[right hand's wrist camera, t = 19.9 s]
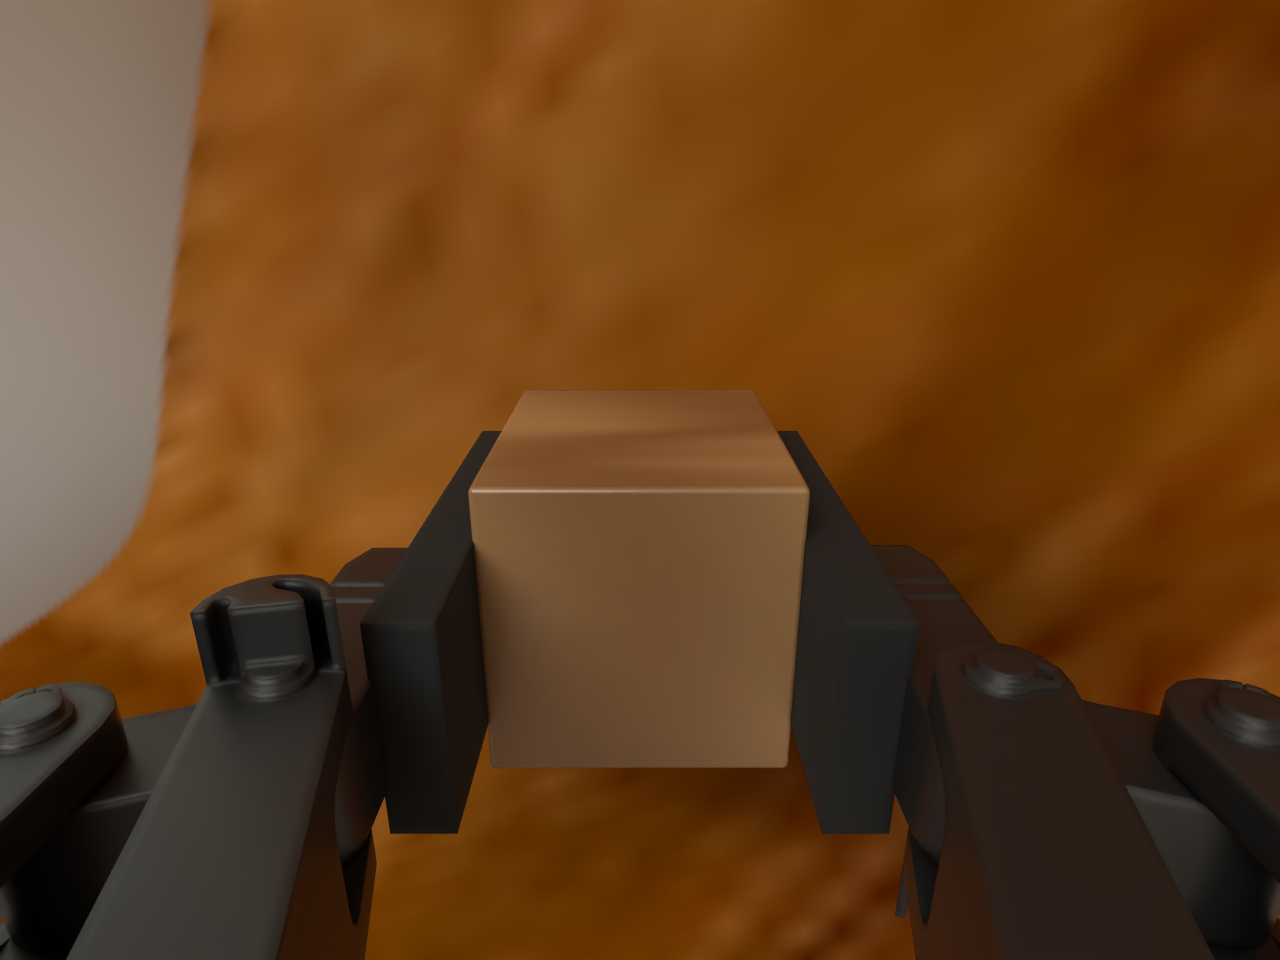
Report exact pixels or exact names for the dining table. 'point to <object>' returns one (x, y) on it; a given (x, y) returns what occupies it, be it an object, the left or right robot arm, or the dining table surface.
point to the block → (639, 581)
